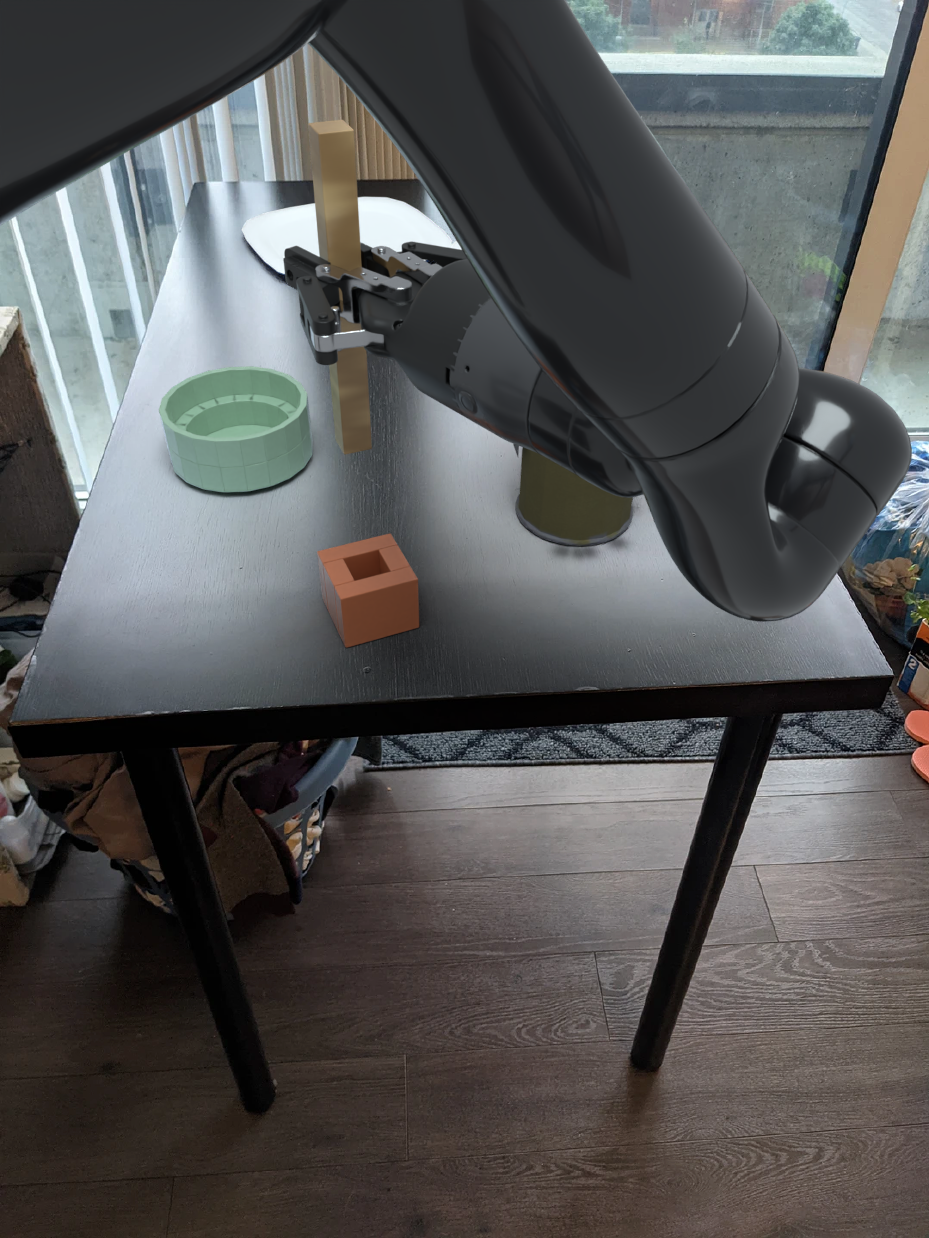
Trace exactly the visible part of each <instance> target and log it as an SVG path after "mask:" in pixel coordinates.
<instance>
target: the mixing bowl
mask: <svg viewBox="0 0 929 1238" xmlns="http://www.w3.org/2000/svg"><path fill="white" fill-rule="evenodd" d="M158 414H159V418H160V421H161V422H160V423H161V427H162V431H163V435H164V439H165V444H166V448H167V452H168V457H169V461H170V464H171V466H172V469H173V472H174V473H175V475H177V476H178V477H180V478H181V480H183V481H184V482H185V483H186V484H189V485H192V486H194V487H196V488H199V489H202V490H204V491H205V490H206V491H211V492H212V491H213V492H219V493H243V492H244V493H245V492H251V491H252V492H253V491H256V490H261V489H265V488H269V487H270V488H271V487H273V486H276V485H278V484H280V483H282V482H284V481H287V480H290V479H291V478H292V477H294V476H295V475H297V474H298V473H299V472H300V471H301V470H303V469H305V467H306V465H308V463H309V461H310V459H311V458H312V456H313V450H314V449H313V447H314V441H313V435H312V434H313V431H312V424H311V414H310V405H309V395H308V392H307V391H306V389H305V388H304V386H303V384H302V382H301V381H299V380H297V379H296V378H294V377H293V376H292V375H290V374H289V373H285V372H282V371H279V370H276V369H273V368H269V367H261V366H254V365H253V366H252V365H251V366H227V367H221V368H217V369H210V370H207V371H204V372H201V373H198V374H195V375H191V376H189V377H187V378H185V379H183V380H182V381H180V382H179V383H177V384H175V385H174V386H172V387H171V388H170V389H169V390H168V391H167V392H166V393H165V394H164V395H163V396H162V397H161V400H160V404H159V408H158Z"/></svg>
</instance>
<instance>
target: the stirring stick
mask: <svg viewBox="0 0 929 1238" xmlns="http://www.w3.org/2000/svg"><path fill="white" fill-rule="evenodd" d="M307 126H308V139H309V150H310V161H311V172H312V173H311V174H312V175H311V176H312V183H313V184H312V185H313V186H312V187H313V195H314V197H313V198H314V203H315V209H316V221H317V232H318V244H319V255H320V257H321V258H323V259H325V260H327V261H328V262H331V265H334V266H337V267H340V268H342V269H345V270H347V271H351V270H353V269H355V268H358V267H362V264H361V246H360V229H359V211H358V197H359V196H358V176H357V161H356V160H357V159H356V143H355V142H356V141H355V130H354V129H353V128H352V127H351V126H350V125H349V124H348V123H347V122H346V121H345V120H344V119H335V120H326V121H316V122H315V121H314V122H309V123H308V124H307ZM339 295H340V300H342V301H343V298H342V291H341V289H340V288H339ZM367 354H368V352H367V351H366V350H365V349H364V347H356V348H348V349H342V350H341V351H338V361H337V362H336V363H334V364H332V365H328V370H329V381H330V392H331V393H330V394H331V403H332V415H333V416H332V417H333V426H334V427H333V429H334V437H335V442H336V444H337V445H338V447H339V449H340V451H341V452H342V453H343V455H345V456H346V455H351V454H355V453H359V452H364V451H369V450H372V449H373V443H372V424H371V423H372V422H371V408H370V390H369V389H370V388H369V373H368V371H369V370H368V355H367Z"/></svg>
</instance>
